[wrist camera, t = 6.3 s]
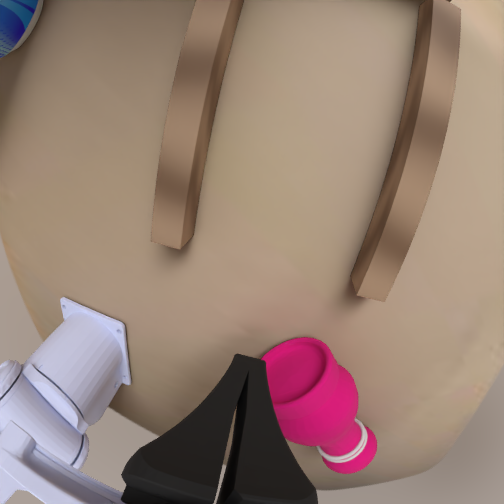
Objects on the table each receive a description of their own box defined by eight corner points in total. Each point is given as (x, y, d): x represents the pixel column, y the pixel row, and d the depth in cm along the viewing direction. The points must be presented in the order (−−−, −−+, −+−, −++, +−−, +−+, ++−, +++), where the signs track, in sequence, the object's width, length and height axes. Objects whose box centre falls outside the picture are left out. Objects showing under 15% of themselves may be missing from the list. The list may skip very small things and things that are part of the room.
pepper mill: (294, 320, 22) (358, 424, 29) (226, 381, 20) (317, 464, 27) (360, 350, 16) (400, 449, 23) (276, 435, 14) (356, 496, 20)
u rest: (375, 282, 19) (384, 301, 16) (166, 228, 19) (151, 241, 17) (445, -13, 9) (459, -25, 6) (239, -68, 9) (231, -86, 7)
